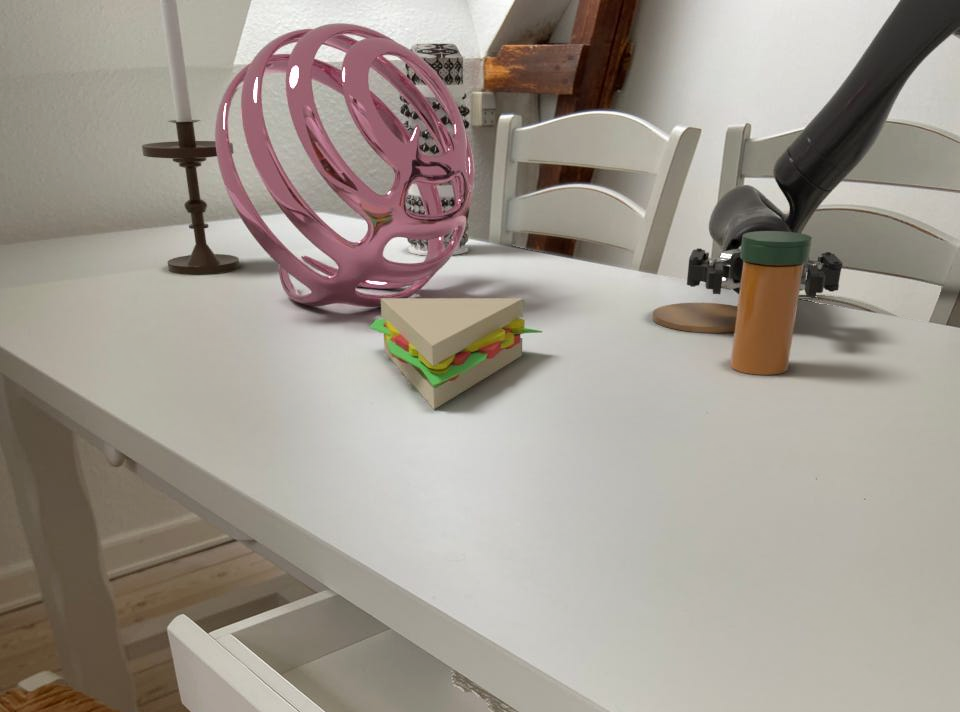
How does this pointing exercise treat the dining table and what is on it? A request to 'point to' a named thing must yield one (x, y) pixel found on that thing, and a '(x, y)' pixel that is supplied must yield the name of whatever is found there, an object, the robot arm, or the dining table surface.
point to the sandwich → (450, 340)
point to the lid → (775, 247)
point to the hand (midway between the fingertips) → (765, 284)
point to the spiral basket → (384, 137)
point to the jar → (765, 317)
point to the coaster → (697, 317)
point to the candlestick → (187, 155)
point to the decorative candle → (451, 72)
